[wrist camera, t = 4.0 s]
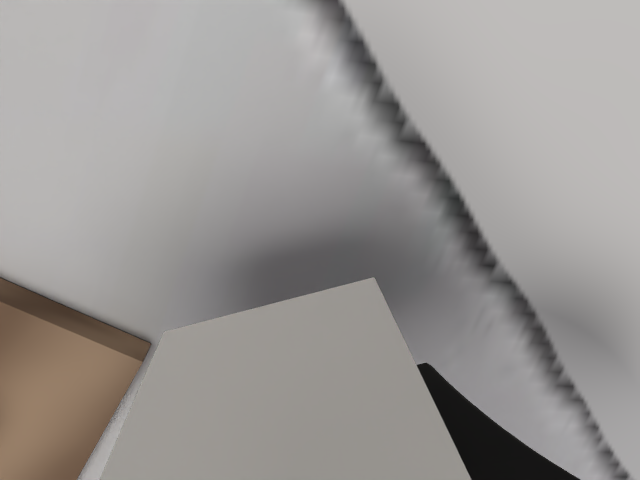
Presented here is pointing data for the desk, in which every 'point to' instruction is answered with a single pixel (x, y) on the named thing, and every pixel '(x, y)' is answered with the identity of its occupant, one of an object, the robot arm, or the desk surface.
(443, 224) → the desk surface
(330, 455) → the sleeve
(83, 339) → the duct base
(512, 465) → the robot arm
